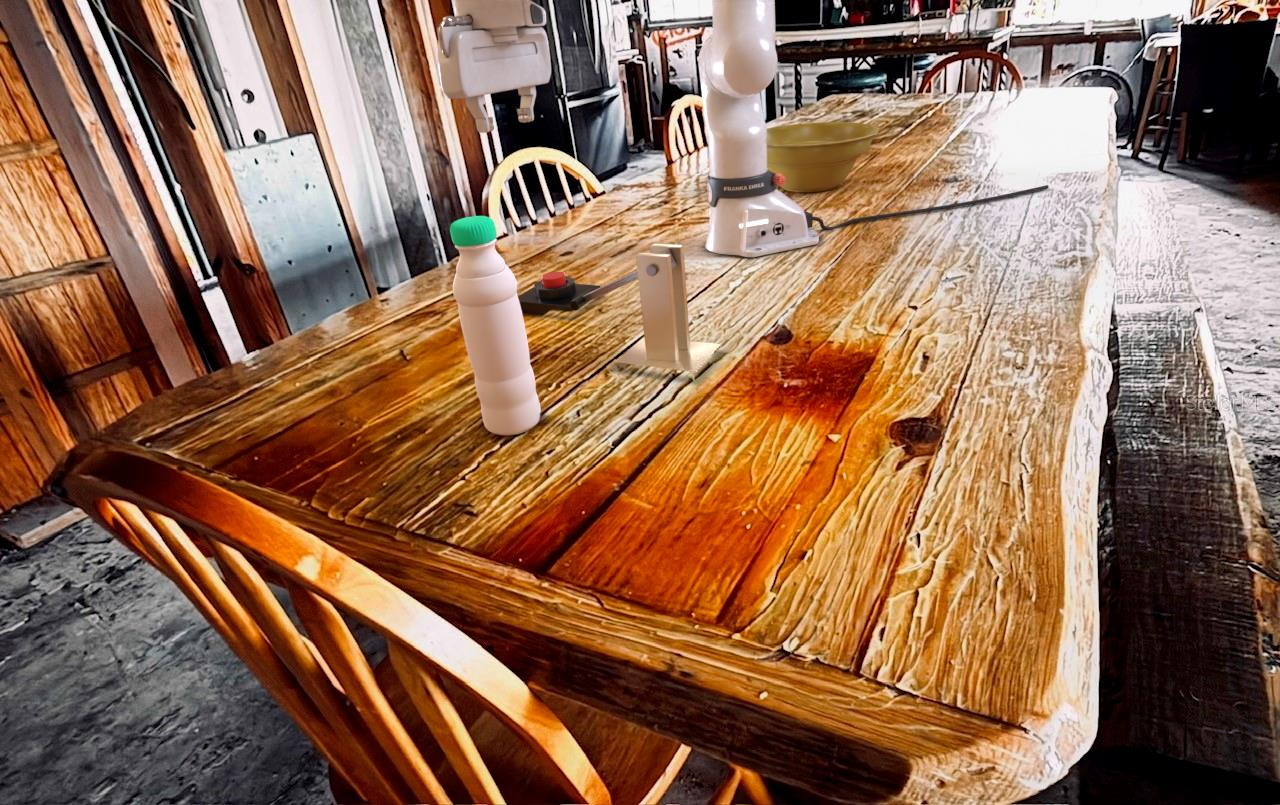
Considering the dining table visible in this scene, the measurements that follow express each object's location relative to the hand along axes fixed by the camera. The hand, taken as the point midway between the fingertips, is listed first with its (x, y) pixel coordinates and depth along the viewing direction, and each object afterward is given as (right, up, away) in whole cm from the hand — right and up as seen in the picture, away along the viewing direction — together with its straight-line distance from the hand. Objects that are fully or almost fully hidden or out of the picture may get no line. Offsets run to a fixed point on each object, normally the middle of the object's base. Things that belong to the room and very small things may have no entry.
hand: (507, 126), depth 98 cm
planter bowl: (+63, +17, +83) cm, 106 cm away
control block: (+4, -22, +24) cm, 32 cm away
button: (+4, -19, +22) cm, 29 cm away
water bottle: (+3, -41, -12) cm, 43 cm away
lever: (+17, -23, -3) cm, 29 cm away
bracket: (+23, -33, -1) cm, 40 cm away
